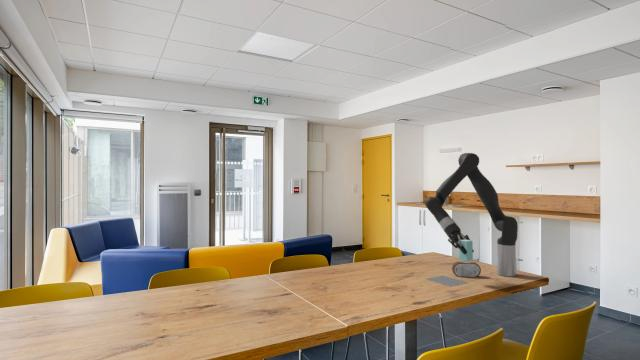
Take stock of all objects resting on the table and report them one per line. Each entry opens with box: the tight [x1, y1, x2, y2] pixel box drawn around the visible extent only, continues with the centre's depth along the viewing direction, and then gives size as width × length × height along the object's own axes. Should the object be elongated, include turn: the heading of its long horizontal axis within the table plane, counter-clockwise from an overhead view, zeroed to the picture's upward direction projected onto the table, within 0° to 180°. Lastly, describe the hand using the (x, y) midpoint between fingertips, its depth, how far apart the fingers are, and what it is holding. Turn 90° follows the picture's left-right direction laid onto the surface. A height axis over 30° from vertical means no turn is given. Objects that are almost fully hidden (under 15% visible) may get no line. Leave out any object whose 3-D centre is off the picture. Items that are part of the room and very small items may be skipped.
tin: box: [451, 260, 482, 278], centre depth 201 cm, size 15×3×8 cm, turn 84°
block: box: [458, 239, 474, 262], centre depth 188 cm, size 4×4×10 cm
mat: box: [425, 275, 469, 287], centre depth 191 cm, size 14×17×1 cm
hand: (469, 252), depth 186 cm, fingers closed on block, 4 cm apart
